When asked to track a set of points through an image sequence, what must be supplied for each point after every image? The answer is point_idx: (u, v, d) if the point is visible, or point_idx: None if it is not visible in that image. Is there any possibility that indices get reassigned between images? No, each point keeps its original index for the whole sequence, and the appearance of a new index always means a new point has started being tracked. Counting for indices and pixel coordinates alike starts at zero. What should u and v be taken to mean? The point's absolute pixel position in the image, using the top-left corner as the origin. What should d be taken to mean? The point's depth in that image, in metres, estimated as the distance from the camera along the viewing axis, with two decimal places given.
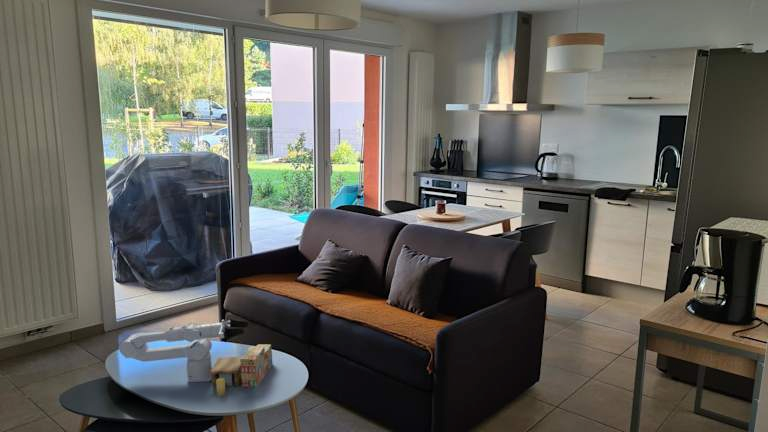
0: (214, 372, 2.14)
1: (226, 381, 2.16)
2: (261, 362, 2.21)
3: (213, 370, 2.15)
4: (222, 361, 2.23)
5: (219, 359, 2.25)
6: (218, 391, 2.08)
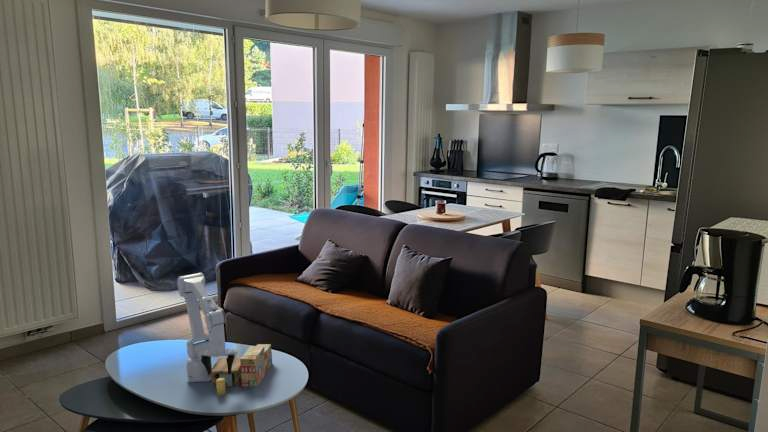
0: (214, 372, 2.14)
1: (226, 381, 2.16)
2: (261, 362, 2.21)
3: (213, 370, 2.15)
4: (222, 361, 2.23)
5: (219, 359, 2.25)
6: (218, 391, 2.08)
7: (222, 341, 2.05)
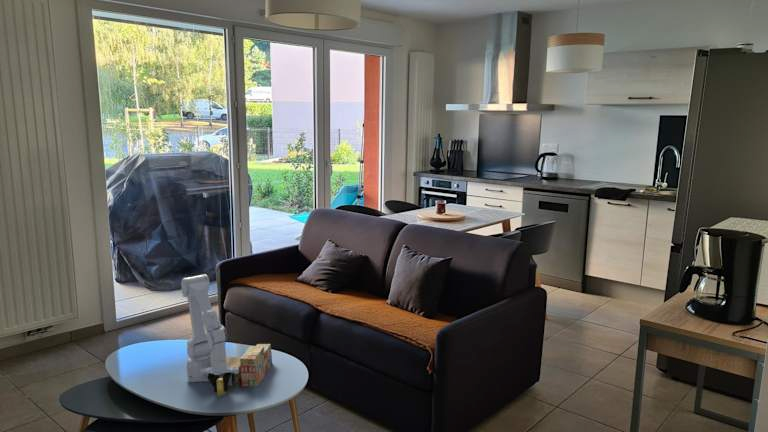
0: None
1: None
2: (261, 362, 2.21)
3: None
4: None
5: None
6: (218, 391, 2.08)
7: (223, 359, 2.06)
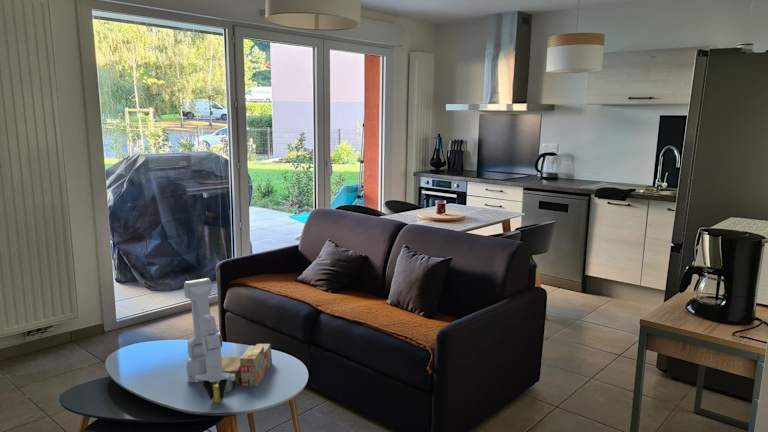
0: None
1: None
2: (261, 362, 2.21)
3: None
4: (222, 361, 2.23)
5: None
6: (214, 398, 2.03)
7: (219, 365, 2.00)
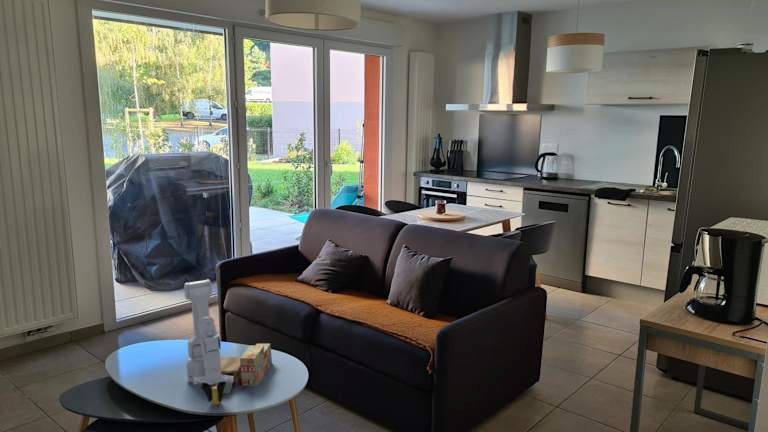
0: None
1: None
2: (261, 361, 2.22)
3: None
4: (222, 361, 2.23)
5: None
6: (213, 400, 2.01)
7: (218, 367, 1.98)
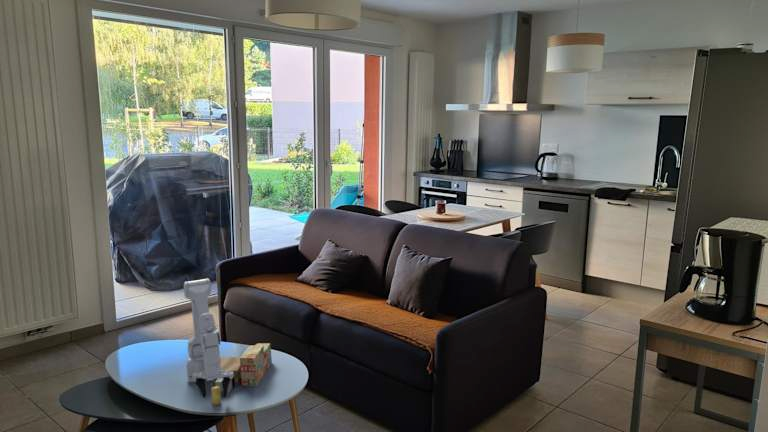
0: None
1: (222, 389, 2.10)
2: (261, 361, 2.22)
3: None
4: (222, 361, 2.23)
5: None
6: (213, 400, 2.01)
7: (217, 363, 1.98)
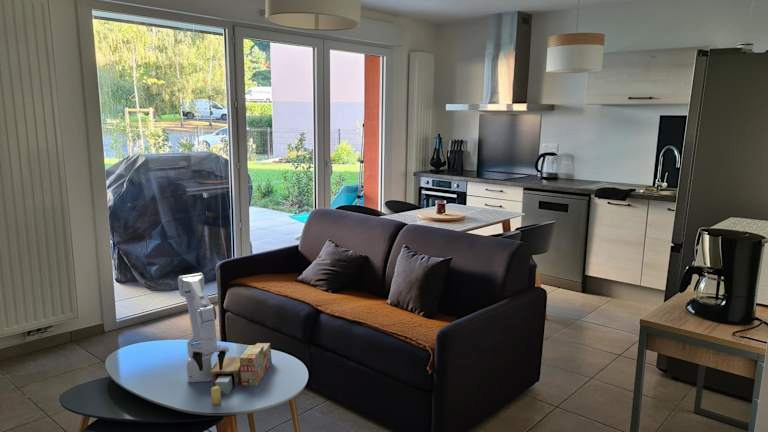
0: (214, 372, 2.14)
1: (222, 389, 2.10)
2: (260, 361, 2.22)
3: (213, 370, 2.15)
4: None
5: None
6: (213, 400, 2.01)
7: (213, 337, 2.05)
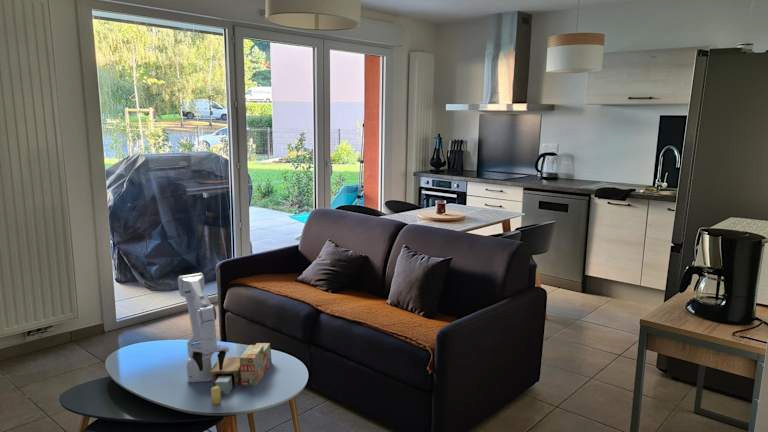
0: (214, 372, 2.14)
1: (222, 389, 2.10)
2: (260, 361, 2.22)
3: (213, 370, 2.15)
4: None
5: None
6: (213, 400, 2.01)
7: (213, 337, 2.05)
